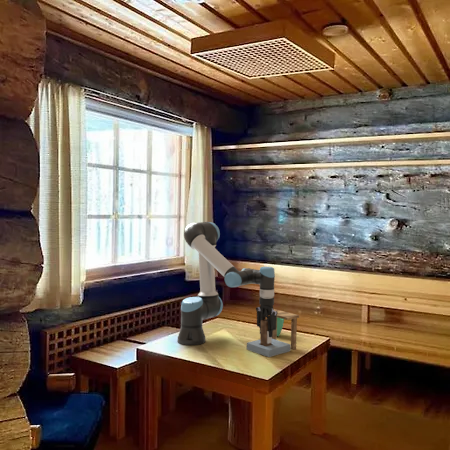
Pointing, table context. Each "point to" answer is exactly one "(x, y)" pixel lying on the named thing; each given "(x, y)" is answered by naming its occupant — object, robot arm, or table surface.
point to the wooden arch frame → (293, 326)
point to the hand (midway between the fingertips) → (265, 341)
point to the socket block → (269, 348)
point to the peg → (264, 333)
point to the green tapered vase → (279, 325)
